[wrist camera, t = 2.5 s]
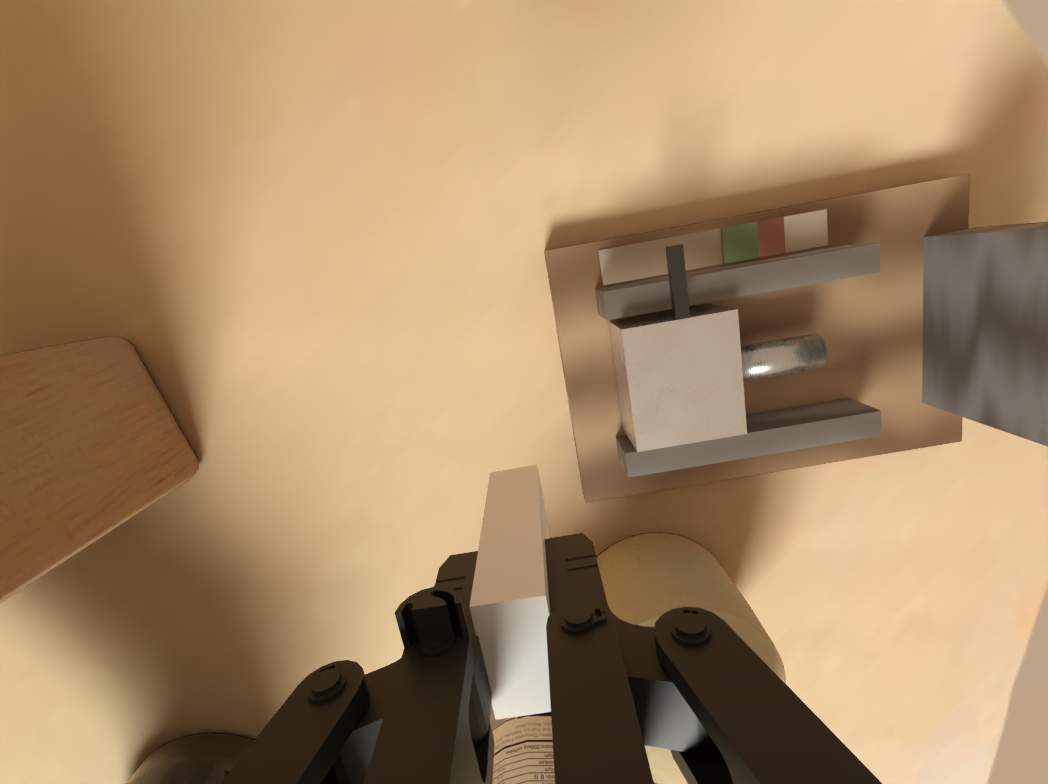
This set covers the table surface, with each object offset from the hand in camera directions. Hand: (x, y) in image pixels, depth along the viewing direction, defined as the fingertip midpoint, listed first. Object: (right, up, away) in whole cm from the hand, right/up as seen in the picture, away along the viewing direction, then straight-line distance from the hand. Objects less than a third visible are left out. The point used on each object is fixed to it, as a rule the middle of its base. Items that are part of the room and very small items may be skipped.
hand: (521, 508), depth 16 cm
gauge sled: (+11, +7, +14) cm, 19 cm away
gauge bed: (+15, +7, +16) cm, 23 cm away
